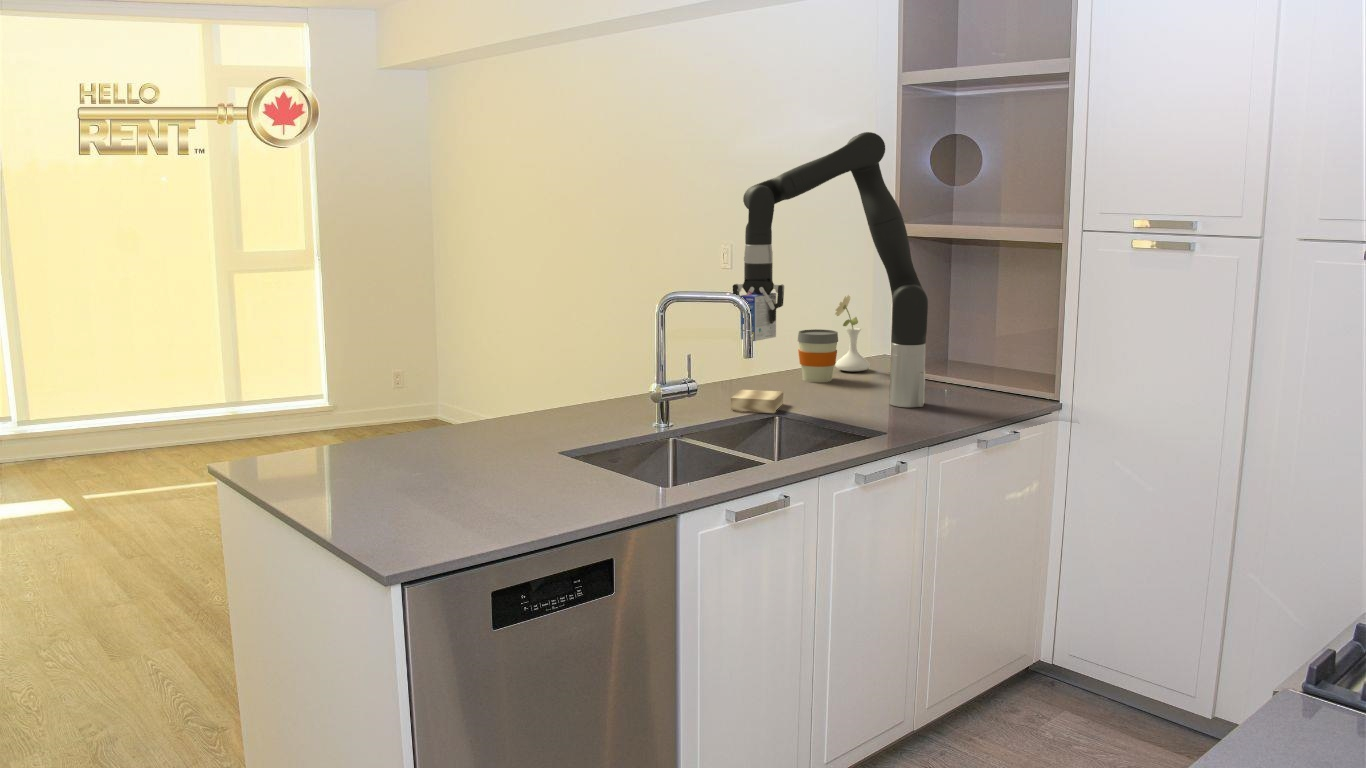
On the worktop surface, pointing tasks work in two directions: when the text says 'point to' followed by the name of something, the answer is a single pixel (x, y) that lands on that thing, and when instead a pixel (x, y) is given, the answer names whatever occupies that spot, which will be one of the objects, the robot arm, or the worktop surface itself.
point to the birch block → (757, 401)
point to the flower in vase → (851, 344)
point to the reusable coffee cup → (817, 354)
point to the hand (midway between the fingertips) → (758, 322)
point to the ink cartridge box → (760, 316)
